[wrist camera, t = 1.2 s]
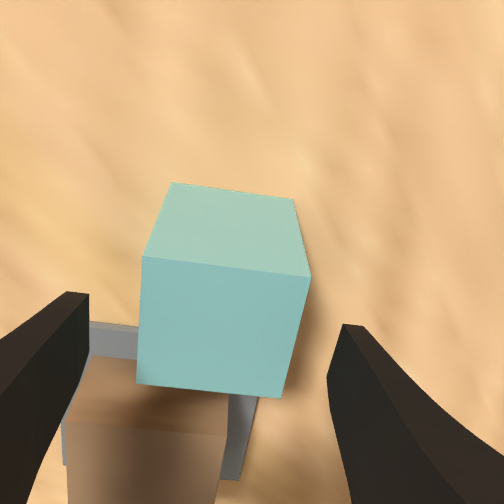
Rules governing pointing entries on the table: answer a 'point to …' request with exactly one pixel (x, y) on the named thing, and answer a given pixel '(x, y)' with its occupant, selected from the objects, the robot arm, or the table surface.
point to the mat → (126, 346)
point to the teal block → (221, 292)
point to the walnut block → (142, 439)
